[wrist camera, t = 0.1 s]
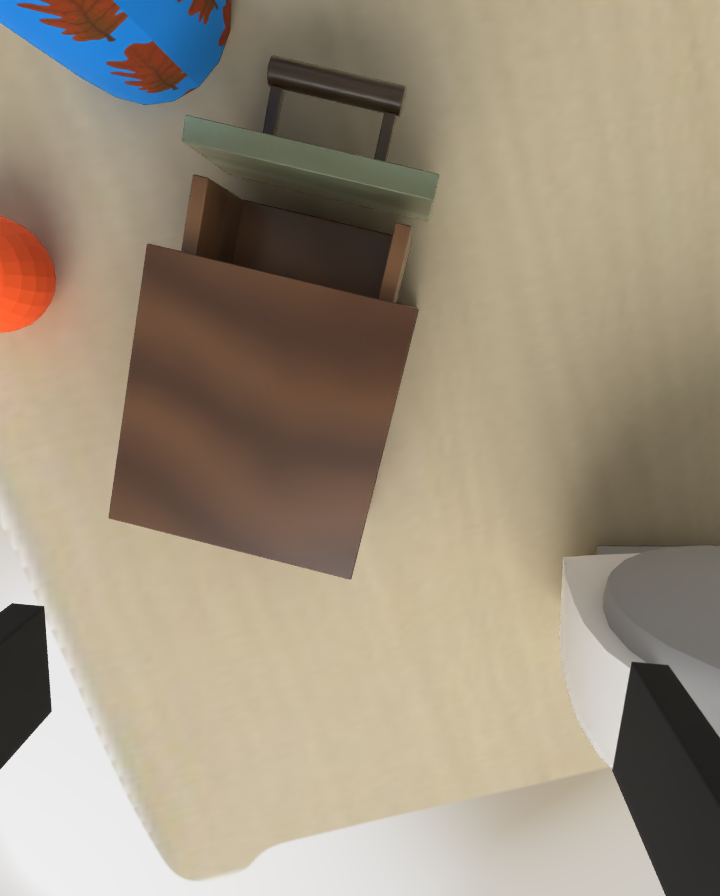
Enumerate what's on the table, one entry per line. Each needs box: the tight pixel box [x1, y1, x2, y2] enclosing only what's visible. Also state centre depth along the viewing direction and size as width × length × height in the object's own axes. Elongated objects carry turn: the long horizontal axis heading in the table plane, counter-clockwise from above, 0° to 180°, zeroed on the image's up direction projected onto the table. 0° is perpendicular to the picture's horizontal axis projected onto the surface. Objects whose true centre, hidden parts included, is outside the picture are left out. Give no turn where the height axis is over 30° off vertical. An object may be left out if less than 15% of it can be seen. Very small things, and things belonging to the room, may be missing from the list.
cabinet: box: [109, 244, 419, 579], centre depth 36 cm, size 15×14×10 cm
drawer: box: [181, 55, 439, 303], centre depth 34 cm, size 18×12×8 cm
